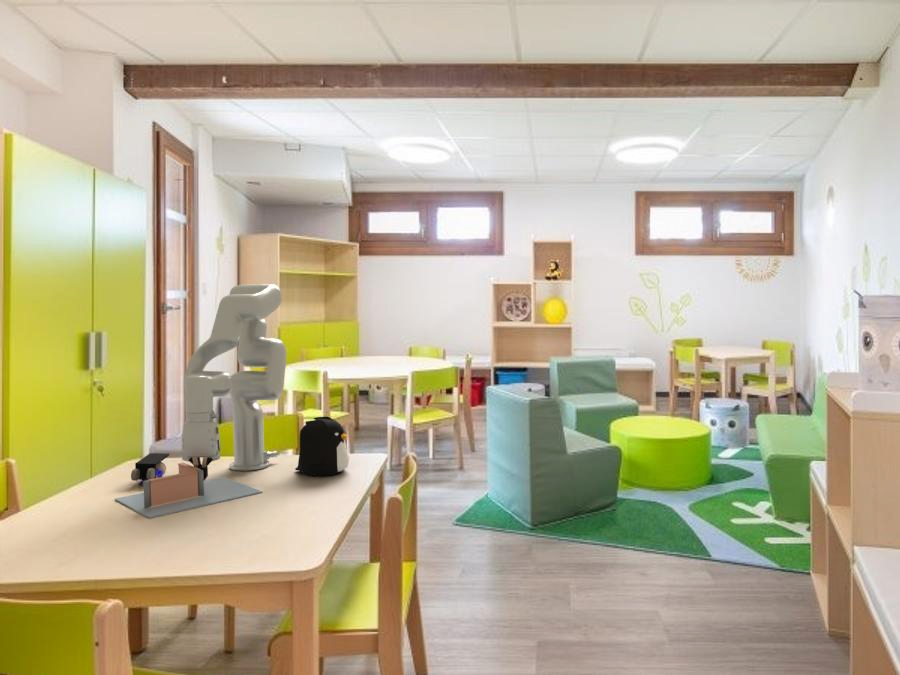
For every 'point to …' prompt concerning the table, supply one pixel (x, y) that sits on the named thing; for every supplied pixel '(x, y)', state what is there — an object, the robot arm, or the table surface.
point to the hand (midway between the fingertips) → (202, 480)
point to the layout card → (213, 493)
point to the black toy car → (149, 467)
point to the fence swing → (186, 468)
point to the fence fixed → (173, 488)
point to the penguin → (322, 448)
